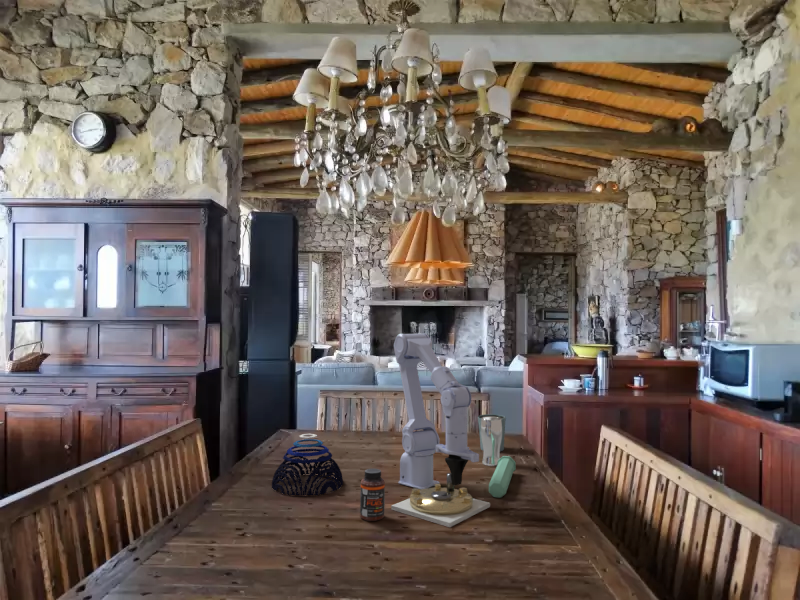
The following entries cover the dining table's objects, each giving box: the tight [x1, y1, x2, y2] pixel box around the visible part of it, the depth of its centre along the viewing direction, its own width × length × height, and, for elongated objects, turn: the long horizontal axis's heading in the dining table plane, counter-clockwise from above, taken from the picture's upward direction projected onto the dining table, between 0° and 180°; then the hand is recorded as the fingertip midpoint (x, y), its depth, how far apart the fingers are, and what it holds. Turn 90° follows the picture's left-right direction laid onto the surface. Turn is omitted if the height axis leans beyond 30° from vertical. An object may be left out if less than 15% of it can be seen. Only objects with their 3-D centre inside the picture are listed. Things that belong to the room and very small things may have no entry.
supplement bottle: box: [359, 468, 386, 522], centre depth 132 cm, size 6×6×11 cm
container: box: [488, 455, 517, 498], centre depth 158 cm, size 6×6×25 cm
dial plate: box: [391, 497, 491, 528], centre depth 139 cm, size 18×18×1 cm
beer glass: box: [481, 416, 502, 467], centre depth 181 cm, size 7×7×15 cm
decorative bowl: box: [271, 433, 344, 496], centre depth 158 cm, size 20×20×14 cm
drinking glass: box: [477, 413, 507, 452], centre depth 200 cm, size 10×10×12 cm
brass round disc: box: [409, 472, 474, 515], centre depth 139 cm, size 16×16×6 cm
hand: (456, 484), depth 144 cm, fingers closed
